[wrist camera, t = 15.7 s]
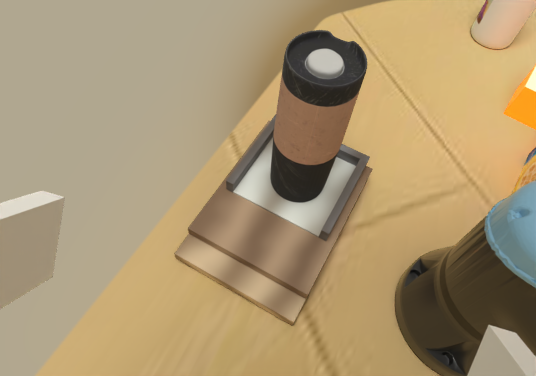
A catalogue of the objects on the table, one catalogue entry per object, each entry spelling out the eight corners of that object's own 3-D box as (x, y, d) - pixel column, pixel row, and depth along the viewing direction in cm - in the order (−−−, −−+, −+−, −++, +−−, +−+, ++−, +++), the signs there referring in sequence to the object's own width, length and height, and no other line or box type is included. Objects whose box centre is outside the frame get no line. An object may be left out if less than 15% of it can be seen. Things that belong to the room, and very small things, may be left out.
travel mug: (278, 210, 51) (300, 94, 34) (260, 161, 55) (273, 34, 38) (335, 197, 53) (383, 79, 36) (314, 150, 57) (349, 24, 40)
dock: (366, 181, 59) (376, 160, 54) (292, 325, 47) (298, 313, 43) (267, 133, 62) (270, 110, 58) (175, 258, 51) (170, 240, 46)
